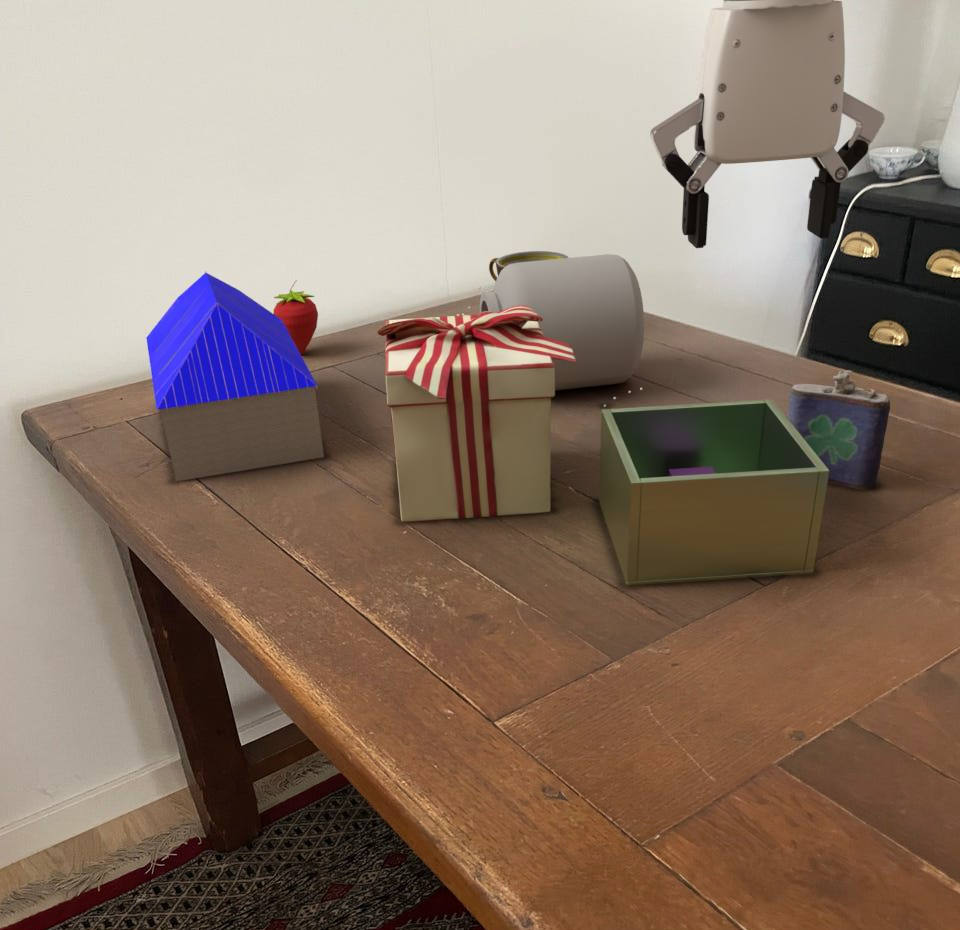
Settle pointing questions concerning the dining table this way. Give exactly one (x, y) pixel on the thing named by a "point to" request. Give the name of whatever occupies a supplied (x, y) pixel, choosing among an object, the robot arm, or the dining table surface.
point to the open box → (709, 492)
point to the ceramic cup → (522, 259)
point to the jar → (579, 313)
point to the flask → (842, 428)
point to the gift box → (471, 413)
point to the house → (230, 384)
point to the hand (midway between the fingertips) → (757, 239)
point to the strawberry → (297, 317)
